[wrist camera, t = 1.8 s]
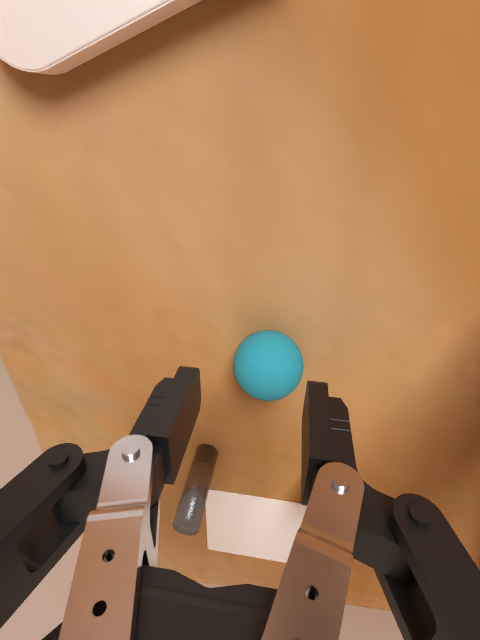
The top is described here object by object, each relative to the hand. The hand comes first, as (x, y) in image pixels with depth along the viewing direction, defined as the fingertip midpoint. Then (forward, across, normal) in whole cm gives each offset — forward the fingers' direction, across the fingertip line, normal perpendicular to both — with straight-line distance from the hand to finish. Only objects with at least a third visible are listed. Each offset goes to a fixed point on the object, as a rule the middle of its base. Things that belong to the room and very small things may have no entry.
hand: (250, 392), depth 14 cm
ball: (+14, 0, +10) cm, 17 cm away
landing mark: (+17, 0, +40) cm, 43 cm away
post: (+17, +7, +26) cm, 31 cm away
